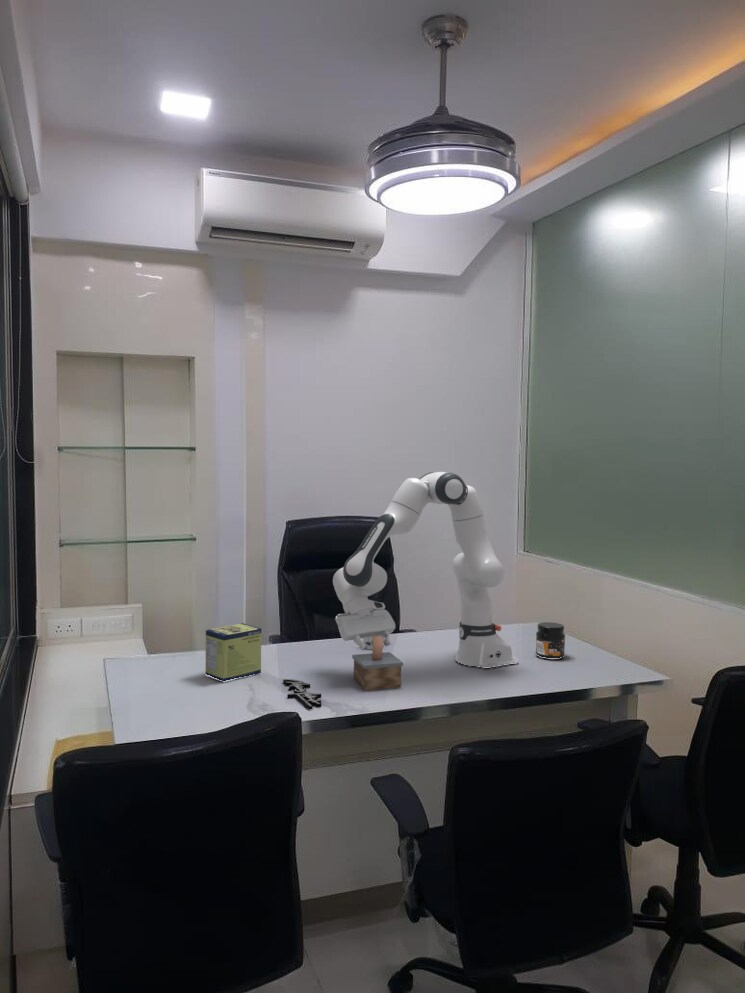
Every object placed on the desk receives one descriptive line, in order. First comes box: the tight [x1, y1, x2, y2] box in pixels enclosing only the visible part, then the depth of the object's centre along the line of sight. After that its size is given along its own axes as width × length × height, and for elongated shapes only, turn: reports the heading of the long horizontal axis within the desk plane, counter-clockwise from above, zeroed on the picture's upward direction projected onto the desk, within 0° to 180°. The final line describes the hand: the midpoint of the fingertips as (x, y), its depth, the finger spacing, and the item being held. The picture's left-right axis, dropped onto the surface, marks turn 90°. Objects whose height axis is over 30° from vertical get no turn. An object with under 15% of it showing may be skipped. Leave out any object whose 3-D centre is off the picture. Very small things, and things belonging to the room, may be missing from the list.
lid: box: [351, 636, 404, 669], centre depth 243 cm, size 13×13×10 cm
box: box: [353, 659, 402, 691], centre depth 244 cm, size 12×12×7 cm
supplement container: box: [535, 621, 566, 658], centre depth 279 cm, size 10×10×12 cm
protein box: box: [205, 622, 262, 681], centre depth 250 cm, size 10×16×16 cm
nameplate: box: [282, 678, 322, 710], centre depth 231 cm, size 27×2×10 cm
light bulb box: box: [363, 635, 385, 651], centre depth 290 cm, size 11×7×11 cm, turn 168°
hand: (376, 646), depth 244 cm, fingers open, 8 cm apart
